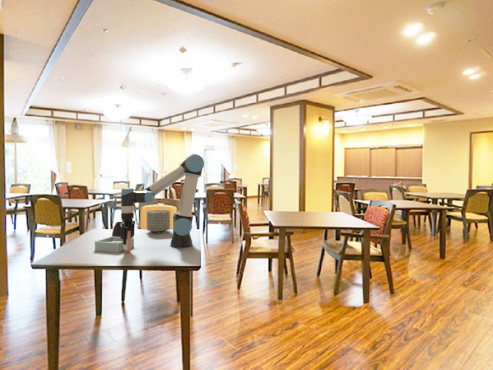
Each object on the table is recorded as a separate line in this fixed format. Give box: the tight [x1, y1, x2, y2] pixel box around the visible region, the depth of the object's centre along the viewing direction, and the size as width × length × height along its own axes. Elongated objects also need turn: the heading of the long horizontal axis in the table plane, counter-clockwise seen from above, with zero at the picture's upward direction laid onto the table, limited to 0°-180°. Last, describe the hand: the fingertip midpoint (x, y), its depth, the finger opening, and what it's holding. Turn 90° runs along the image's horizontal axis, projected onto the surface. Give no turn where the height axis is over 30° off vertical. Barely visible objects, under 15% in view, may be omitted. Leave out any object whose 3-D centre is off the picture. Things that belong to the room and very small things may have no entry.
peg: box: [124, 230, 132, 254], centre depth 195 cm, size 4×4×14 cm
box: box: [94, 235, 135, 254], centre depth 204 cm, size 18×16×6 cm
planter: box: [146, 209, 171, 234], centre depth 258 cm, size 19×19×18 cm
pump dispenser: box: [111, 221, 122, 237], centre depth 223 cm, size 10×10×15 cm
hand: (127, 248), depth 195 cm, fingers closed on peg, 3 cm apart
